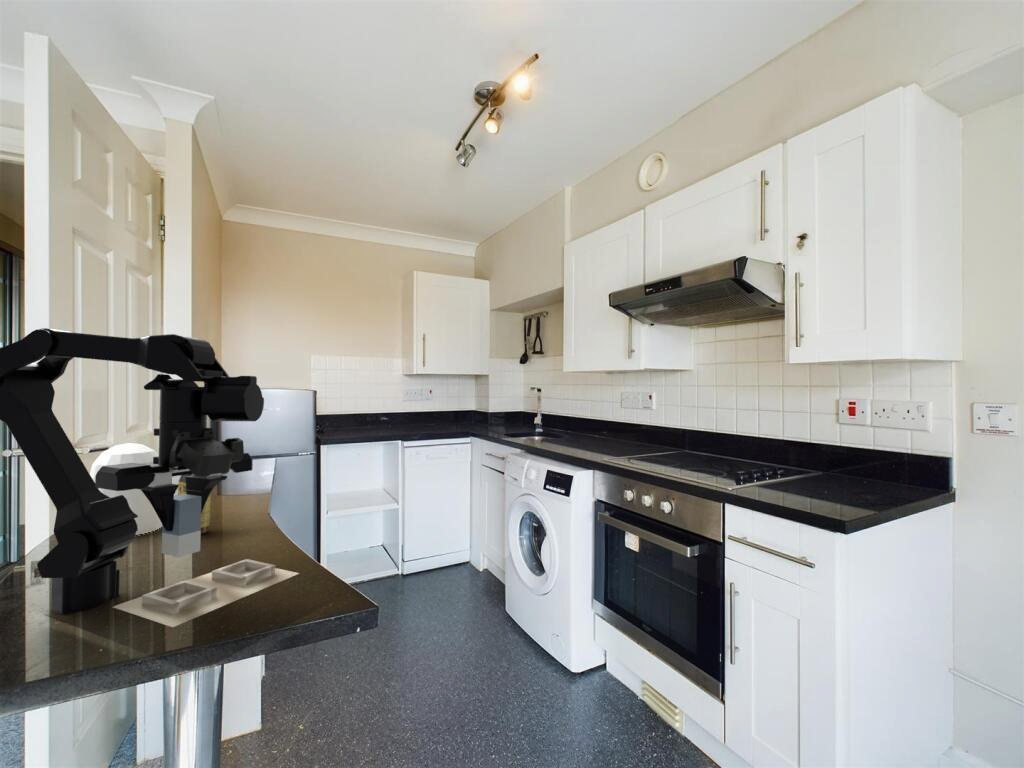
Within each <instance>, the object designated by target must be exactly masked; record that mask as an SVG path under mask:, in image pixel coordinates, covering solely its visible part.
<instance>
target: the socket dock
mask: <svg viewBox="0 0 1024 768" xmlns="http://www.w3.org/2000/svg"><path fill="white" fill-rule="evenodd" d="M297 575H300V573H299V572H295V571H290V570H286V569H281V568H276V564H271V563H266V562H262V561H258V560H253V559H249V558H246V559H243V560H240V561H237V562H234V563H231V564H228V565H226V566H223V567H220V568H217V569H213V570H211V572H208V573H206V574H202V575H198V576H196V577H194V578H191V579H185V580H182V581H180V582H176V583H173V584H170V585H167V586H164V587H161V588H159V589H156V590H153V591H151V592H148V593H144V594H142V595H141V596H138V597H136V598H134V599H131V600H128V601H125V602H122V603H119V604H115V605H113V606H112V608H113V609H116V610H119V611H123V612H124V613H125V612H126V613H129V614H132V615H135V616H138V617H141V618H144V619H147V620H150V621H153V622H155V623H158V624H161V625H165V626H167V627H171V628H176V627H178V626H179V625H182V624H184V623H186V622H190V621H192V620H193V619H197V618H199V617H201V616H203V615H205V614H208V613H210V612H212V611H215V610H218V609H220V608H223V607H224V606H227V605H230V604H232V603H234V602H236V601H238V600H239V601H240V600H241V599H243V598H245V597H248V596H251V595H253V594H255V593H257V592H260V591H262V590H265V589H267V588H269V587H271V586H274V585H276V584H278V583H281V582H284V581H286V580H288V579H291V578H293V577H294V576H297Z"/></svg>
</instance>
